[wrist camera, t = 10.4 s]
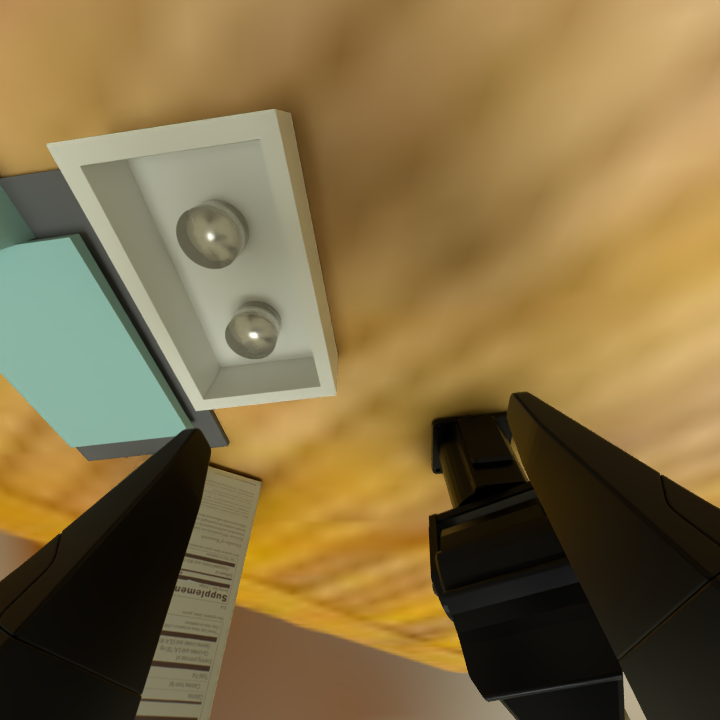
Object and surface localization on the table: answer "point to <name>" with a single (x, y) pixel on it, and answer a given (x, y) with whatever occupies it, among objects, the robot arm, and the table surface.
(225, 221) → the grey metal round knob
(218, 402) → the tub
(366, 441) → the table surface
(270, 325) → the knob
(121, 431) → the lid
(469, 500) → the robot arm
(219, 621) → the supplement box
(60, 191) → the mat
